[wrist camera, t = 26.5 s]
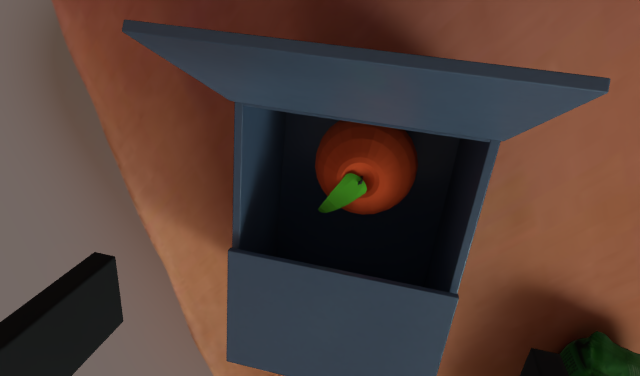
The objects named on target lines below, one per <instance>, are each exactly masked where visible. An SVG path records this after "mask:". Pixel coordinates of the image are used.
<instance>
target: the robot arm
mask: <svg viewBox="0 0 640 376" xmlns="http://www.w3.org/2000/svg"><path fill="white" fill-rule="evenodd" d="M122 322H123V315H122V307H121V299H120V292H119V283H118V276H117V268H116V260H115V257H114V256H110V255H105V254H101V253H96V252H94V253H93V254H91V255H90V256H89V257H87V258H86V259H85V260H83V261H82V262H81V263H79V264H78V265H77V266H75V267H74V268H73V269H71V270H70V271H69V272H67V273H66V274H64V275H63V276H62V277H60V278H59V279H58V280H56V281H55V282H54V283H52V284H51V285H50V286H48V287H47V288H46V289H44V290H43V291H42V292H40V293H39V294H38V295H36V296H35V297H34V298H32V299H31V300H30V301H28V302H27V303H26V304H24V305H23V306H22V307H20V308H19V309H18V310H16V311H15V312H14V313H12V314H11V315H9V316H8V317H7V318H5V319H4V320H3V321H1V322H0V376H72V375H73V374H74V373H75V372H76V370H77V369H78V368H79V367H80V366H81V365H82V364H83V363H84V362H85V361H86V360H87V359H88V358H89V357H90V356H91V354H92V353H94V352H95V350H96V349H97V348H98V347H99V346H100V345H101V344H102V343H103V342H104V341H105V340H106V339H107V338H108V337H109V336H110V334H112V333H113V331H114V330H115V329H116V328H117V327H118V326H119V325H120V324H121V323H122ZM520 376H569V374H568V372H567V370H566V367H565V365H564V363H563V360H562V358H561V356H560V354H556V353H552V352H547V351H543V350H538V349H534V348H531V350H530V352H529V355H528V357H527V360H526V362H525V364H524V367H523V369H522V372H521V374H520Z"/></svg>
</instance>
